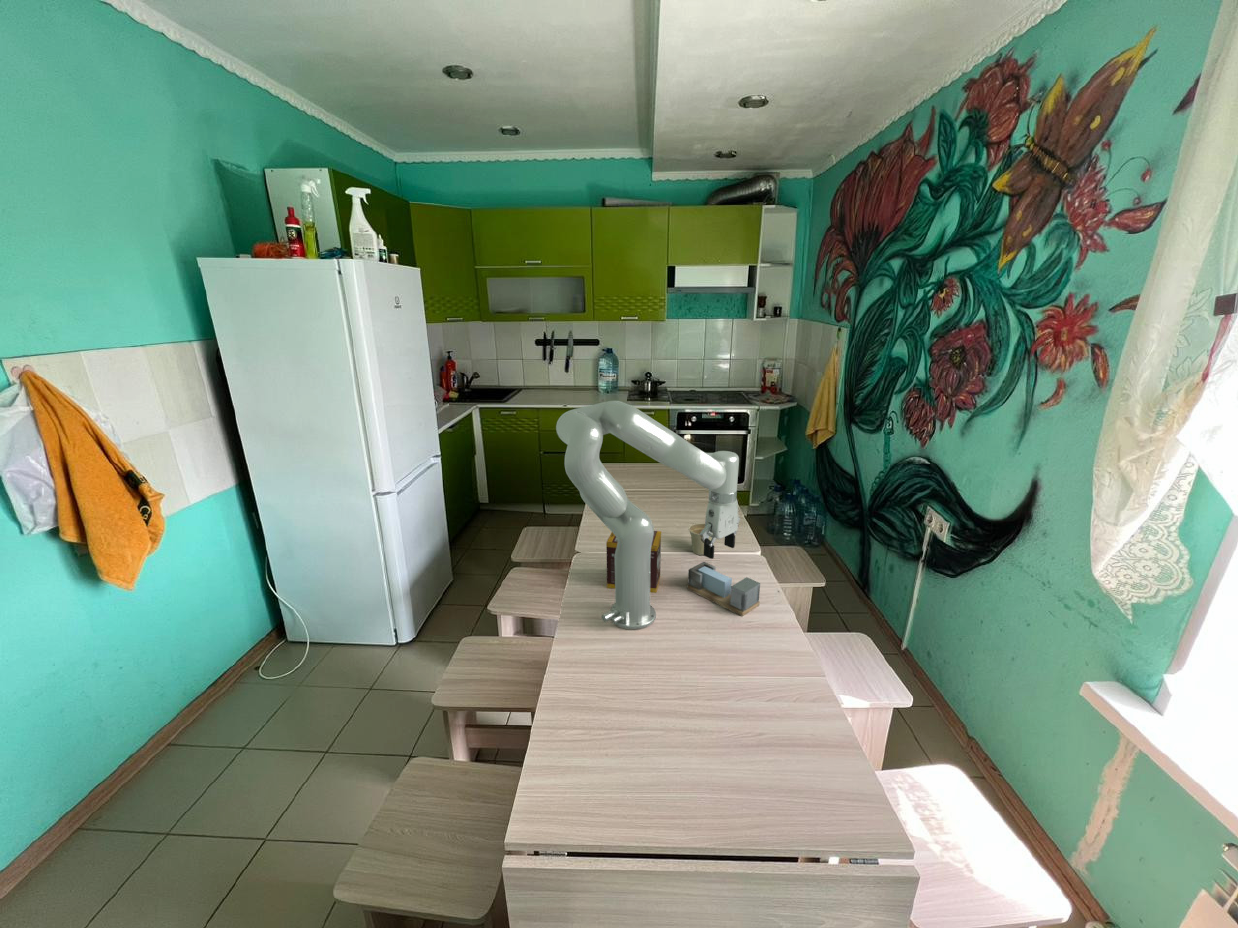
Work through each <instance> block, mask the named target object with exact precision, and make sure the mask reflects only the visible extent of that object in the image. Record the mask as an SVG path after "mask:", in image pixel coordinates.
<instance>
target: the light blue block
mask: <svg viewBox="0 0 1238 928" xmlns="http://www.w3.org/2000/svg"><path fill="white" fill-rule="evenodd" d="M698 572H699V573H702V587H703V588H705V589H707V590H709V591H711V592H713V593H715V594H717V595H719V596H721V597H723V598H725V597H727V596H728V595H730V594H731V586H733V578H732V577H729V576H727V575H726V574H723V573H720V572H718V571H716V570H715V571H714V570H712V569H710V568H708V567H705V566H704V567H702V568H700V569H698Z"/></svg>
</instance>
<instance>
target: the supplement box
mask: <svg viewBox="0 0 1238 928" xmlns="http://www.w3.org/2000/svg"><path fill="white" fill-rule="evenodd" d="M605 543H606V547H605V548H606V588H607V589H613V590H615V551H616V548H617V543H618V541H617V537H616V536H615V535H614V534H613V532H612V531H611V533H610V535H609V537H608V538H607V541H606V542H605ZM661 548H662V531H660V530H654V536H653V541H652V546H651V558H650V594H651V593H652V594H654V593H655V594H657V593H658V588H659V583H660V581H661V560H662V559H661V557H662V556H661V554H662V553H661V552H662V549H661Z"/></svg>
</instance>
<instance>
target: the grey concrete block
mask: <svg viewBox="0 0 1238 928" xmlns="http://www.w3.org/2000/svg"><path fill="white" fill-rule="evenodd" d="M760 590H761V582H758V581H757V580H755V579H752V578H751V577H750V578H749V577H744V578H743V579H741V580H740V581H738V582H736V583H734V584H732V585H731V600H730V605H732V606H734V607H736V608H738V609H740V610H742V611H745V610H746V609H748V608H749V607H751V606H752V605H754V604H756V603H757V602H759V603H760V594H761V593H760V592H761V591H760Z"/></svg>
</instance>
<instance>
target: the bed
mask: <svg viewBox="0 0 1238 928" xmlns="http://www.w3.org/2000/svg"><path fill="white" fill-rule="evenodd" d="M704 566H705V567H708V568H710V569H712V570H714V571H716V570H717V569H716V568H717V567H716V566H714V565H712V564H711V563H708V562H706V561H702V562H701V563H699V564H695V566H693V567H691V568H689V569H688V574H687V576H688V579H687V584H686V588H687V590H689V591H691V592H693V593H695V594H697V595H699V596H701V597H704V598H705V599H707V600H709V601H711V602H713V603H715V604H717V605H719V606H721V607H723V608H725V609H727V610H729V611H730V612H733V613H735V614H737V615H738V616H741V617H744V616H745V615H748V614H749V613H750V612H752V611H753V610H755V609H757V607H759V606H760V601H759V602H757V603H756V604H754V605H752V606H751V607H749V608H748V609H746V610H745V611H742V610H740V609H738V608H736V607H734V606H732V605H730V600H731V594H730V595H728V596H727V597H725V598H723V597H721V596H719V595H717V594H715V593H713V592H711V591H709V590H707V589H705V588H703V587H702V573H699V572H698V569H700V568H702V567H704Z"/></svg>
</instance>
